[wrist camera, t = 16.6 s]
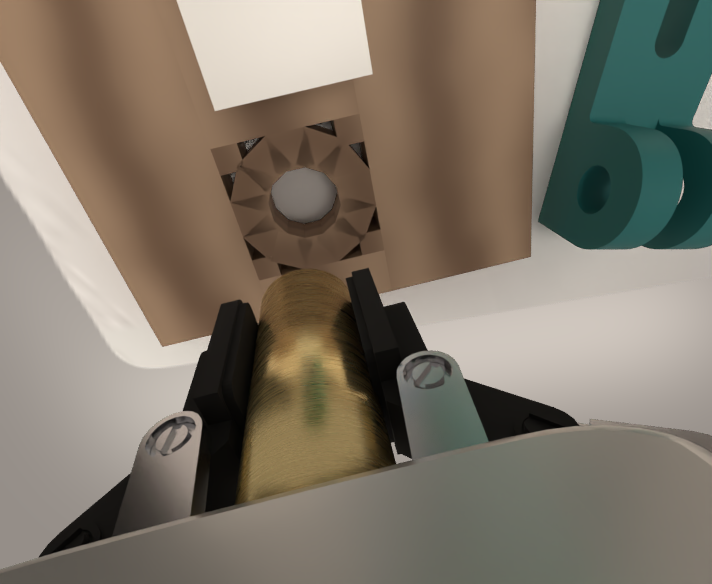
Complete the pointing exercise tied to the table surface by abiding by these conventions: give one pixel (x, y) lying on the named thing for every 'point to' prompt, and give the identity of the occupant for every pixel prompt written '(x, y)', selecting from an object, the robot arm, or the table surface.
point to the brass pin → (309, 392)
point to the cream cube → (275, 46)
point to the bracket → (637, 132)
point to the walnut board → (284, 149)
